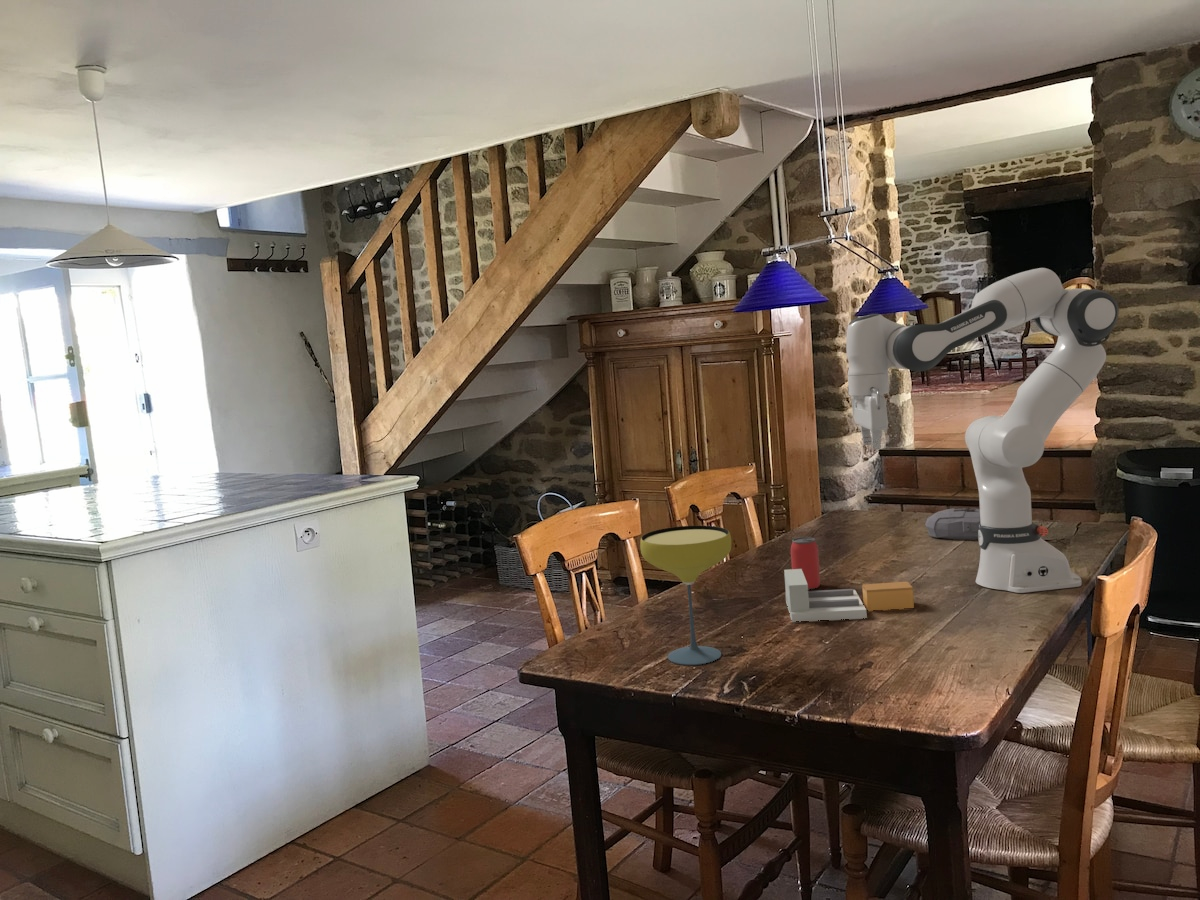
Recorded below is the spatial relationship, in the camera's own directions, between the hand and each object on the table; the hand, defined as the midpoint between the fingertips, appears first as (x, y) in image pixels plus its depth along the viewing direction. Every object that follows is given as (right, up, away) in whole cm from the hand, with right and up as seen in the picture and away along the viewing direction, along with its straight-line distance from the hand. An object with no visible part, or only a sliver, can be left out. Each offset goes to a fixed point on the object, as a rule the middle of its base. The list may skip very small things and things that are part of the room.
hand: (871, 447), depth 215 cm
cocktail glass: (-43, -42, -25) cm, 66 cm away
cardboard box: (+3, -36, -4) cm, 36 cm away
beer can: (-11, -35, +18) cm, 41 cm away
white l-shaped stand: (-11, -37, -2) cm, 39 cm away
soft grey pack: (+43, -26, +57) cm, 76 cm away
